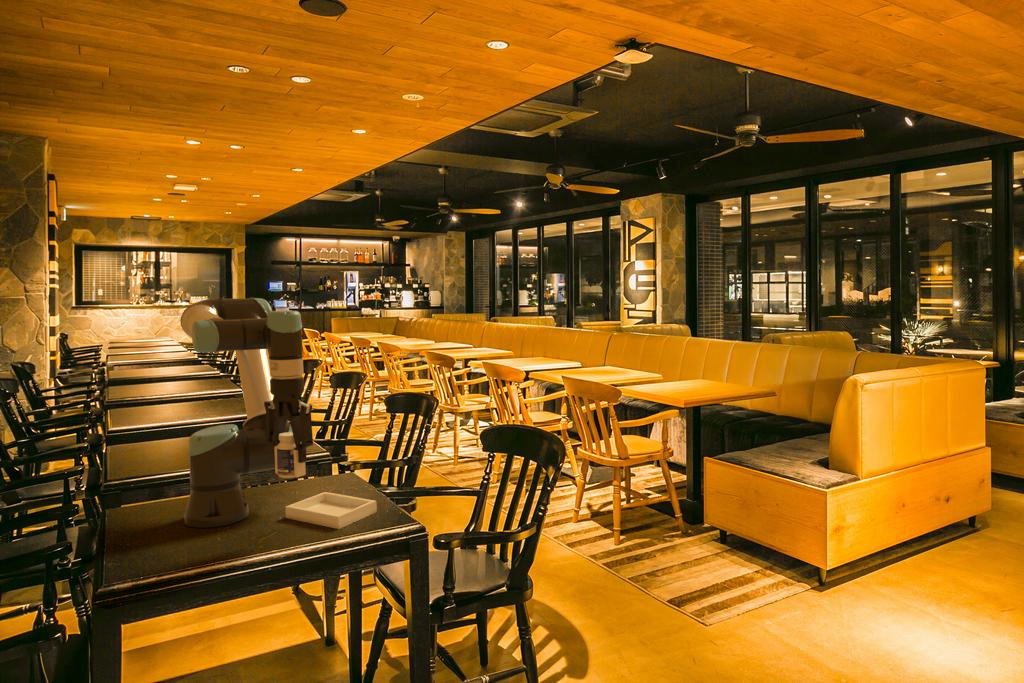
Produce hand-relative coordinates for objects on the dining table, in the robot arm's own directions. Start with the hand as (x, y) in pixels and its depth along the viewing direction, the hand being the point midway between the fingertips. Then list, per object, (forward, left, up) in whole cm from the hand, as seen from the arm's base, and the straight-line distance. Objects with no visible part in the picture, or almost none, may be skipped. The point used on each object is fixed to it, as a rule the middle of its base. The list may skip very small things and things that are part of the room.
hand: (290, 473), depth 161 cm
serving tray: (-2, +15, -15) cm, 21 cm away
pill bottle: (0, 0, -1) cm, 1 cm away
